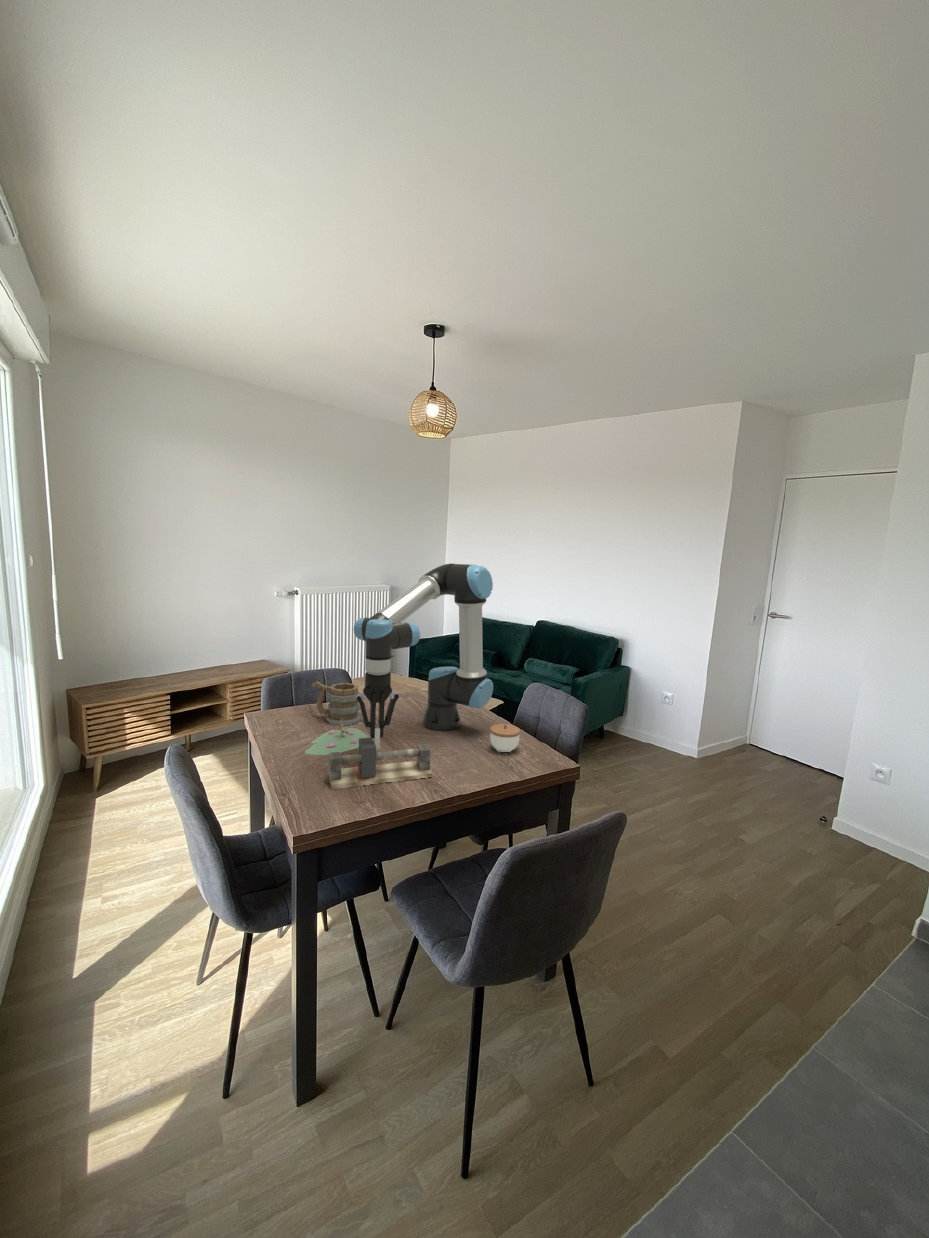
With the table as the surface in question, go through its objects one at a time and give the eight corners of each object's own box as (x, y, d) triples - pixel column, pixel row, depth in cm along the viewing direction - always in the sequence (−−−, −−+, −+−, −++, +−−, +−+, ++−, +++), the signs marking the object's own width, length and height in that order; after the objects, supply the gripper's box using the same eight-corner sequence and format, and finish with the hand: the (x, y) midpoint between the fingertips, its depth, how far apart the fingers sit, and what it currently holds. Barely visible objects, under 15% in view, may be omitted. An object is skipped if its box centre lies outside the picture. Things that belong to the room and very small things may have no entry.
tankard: (365, 717, 207) (365, 681, 205) (351, 727, 195) (351, 689, 193) (320, 711, 212) (320, 676, 210) (304, 721, 200) (304, 684, 198)
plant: (344, 762, 165) (344, 736, 164) (290, 752, 171) (289, 726, 170) (378, 736, 189) (379, 713, 187) (330, 728, 195) (330, 705, 193)
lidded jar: (523, 747, 183) (524, 722, 181) (513, 758, 173) (514, 731, 172) (495, 741, 187) (496, 717, 186) (484, 751, 177) (485, 726, 176)
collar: (371, 765, 158) (371, 737, 157) (375, 776, 150) (376, 747, 149) (358, 766, 156) (358, 738, 155) (362, 778, 149) (362, 748, 148)
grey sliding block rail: (423, 764, 165) (424, 740, 164) (431, 777, 156) (432, 753, 154) (328, 774, 155) (328, 749, 154) (331, 789, 145) (331, 763, 144)
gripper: (396, 668, 156) (394, 741, 159) (354, 669, 151) (352, 745, 155) (402, 674, 149) (400, 750, 152) (357, 675, 144) (356, 754, 148)
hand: (376, 747), depth 153 cm, fingers closed
